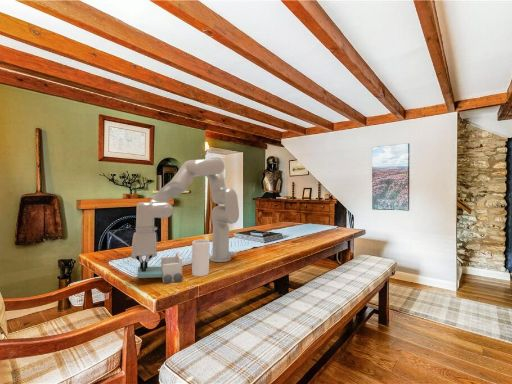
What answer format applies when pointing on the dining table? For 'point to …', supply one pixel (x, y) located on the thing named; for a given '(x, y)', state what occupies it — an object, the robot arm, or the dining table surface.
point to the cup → (200, 257)
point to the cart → (171, 268)
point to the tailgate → (150, 272)
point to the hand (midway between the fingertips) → (143, 270)
